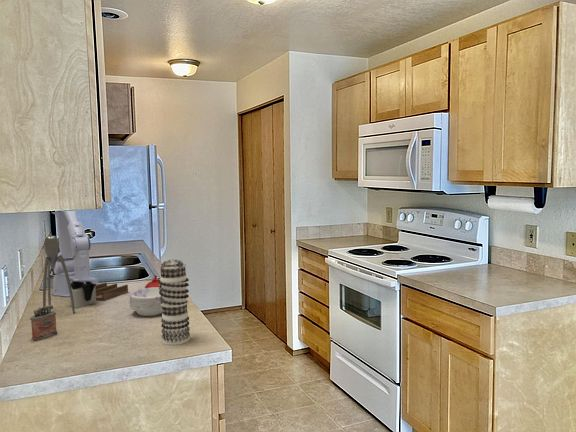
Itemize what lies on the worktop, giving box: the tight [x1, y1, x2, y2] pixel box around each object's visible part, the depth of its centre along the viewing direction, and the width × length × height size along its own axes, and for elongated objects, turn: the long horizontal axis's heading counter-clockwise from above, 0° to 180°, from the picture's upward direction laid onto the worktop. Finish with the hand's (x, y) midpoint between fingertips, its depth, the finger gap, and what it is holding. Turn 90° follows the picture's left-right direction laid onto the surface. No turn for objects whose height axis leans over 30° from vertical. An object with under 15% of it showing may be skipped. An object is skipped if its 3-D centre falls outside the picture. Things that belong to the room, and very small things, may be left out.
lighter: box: [30, 304, 58, 342], centre depth 154 cm, size 8×3×10 cm, turn 148°
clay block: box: [72, 287, 97, 309], centre depth 191 cm, size 2×10×7 cm, turn 156°
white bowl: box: [129, 287, 163, 317], centre depth 179 cm, size 15×15×8 cm
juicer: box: [42, 235, 76, 315], centre depth 177 cm, size 10×11×30 cm
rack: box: [95, 282, 129, 302], centre depth 205 cm, size 13×14×4 cm
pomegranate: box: [144, 274, 162, 288], centre depth 201 cm, size 10×10×9 cm
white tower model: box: [158, 259, 191, 346], centre depth 148 cm, size 9×9×25 cm
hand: (84, 300), depth 191 cm, fingers open, 4 cm apart
